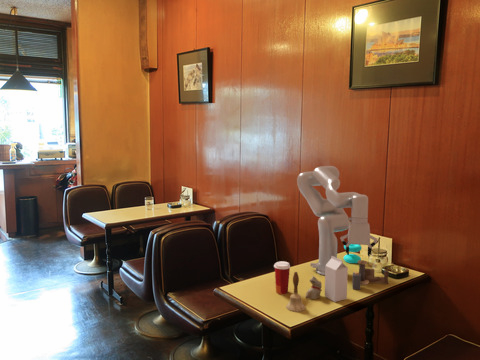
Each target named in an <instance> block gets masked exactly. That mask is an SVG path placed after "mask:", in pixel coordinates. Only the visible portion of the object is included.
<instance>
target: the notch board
mask: <svg viewBox="0 0 480 360" xmlns="http://www.w3.org/2000/svg"><path fill="white" fill-rule="evenodd" d="M389 272H390V271H389V270H388V269H384V270H383V276H375V268H368V267H367V268H366V267H365V279H367V280H369V284H370V283H371V284H383V285H389V275H390V274H389Z"/></svg>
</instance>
